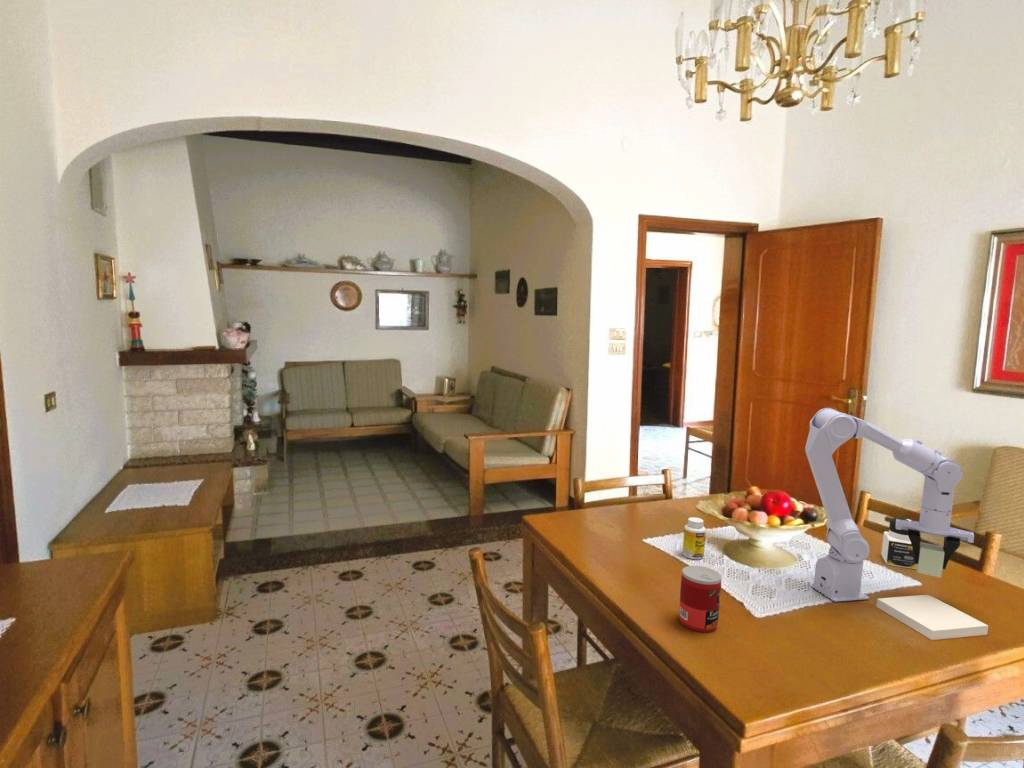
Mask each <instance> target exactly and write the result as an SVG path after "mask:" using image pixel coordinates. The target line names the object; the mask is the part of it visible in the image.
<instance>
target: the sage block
mask: <svg viewBox="0 0 1024 768" xmlns="http://www.w3.org/2000/svg"><path fill="white" fill-rule="evenodd" d="M943 547H944V546H943V545H938V544H933V543H927V542H923V541H922V542H921V541H920V547H919V561H918V564H916V569H915V570H916V572H917V573H918V574H921V575H927V576H932V577H935V578H940V579H941V578H942V576H943V570H944V569H943V561H944V553H945V552H944V549H943Z"/></svg>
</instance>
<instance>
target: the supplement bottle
mask: <svg viewBox="0 0 1024 768" xmlns="http://www.w3.org/2000/svg"><path fill="white" fill-rule="evenodd" d="M687 520H688V521H687V524H685V525H684V529H683V532H684V533H683V543H682V554H683V556H684V557H685V558H688V559H691V560H702V559H703V558H704V555H705V545H706V533H707V529H706V527H705V526H704V520H703V518H700V517H688V519H687Z"/></svg>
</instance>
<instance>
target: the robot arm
mask: <svg viewBox="0 0 1024 768" xmlns="http://www.w3.org/2000/svg"><path fill="white" fill-rule="evenodd" d="M852 438H853V439H855V440H856V439H862V438H865V439H867V440H868V441H871V442H872V443H874V444H877V445H879V446H881V447H883V448H885V449H887V450H889V451H891V452H892V455H893V458H894V460H896V461H898V463H901V464H902V465H905V466H907V467H908V468H911V469H912V470H914V471H916V472H918V473H920V474H922V475H923V476H924V479H923V480H924V481H923V487H922V488H923V489H922V497H921V506H920V511H919V512H920V513H919V521H917V520H916V521H915V520H911V521H907V520H899V519H896V529H898V530H901V529H903V530H907V533H908V536H909V539H910V541H911V544H912V548H913V553H914V563H915V564H918V561H919V547H920V542H921V541H922V537H921V534H926V535H932V536H937V537H941V538H942V537H943V546H942V547H943V549H944V552H945V553H944V561H943V569H942V570H946V569H947V566H948V563H949V561H950V559H951V558H952V556H953V554H954V553H955V552H956V551H957V550H958V549H959V548H960V545H961V541H965V542H967V543H972V544H974V539H975V534H974V532H973V531H968V530H962V529H960V528H959V529H958V528H955V527H951V521H952V512H953V506H954V505H953V504H954V497H955V490H956V486H957V484H959V482H960V481H961V480H962V478H963V476H964V473H963V472H962V469H961V466H960V465H959V463H958V462H957V461H955V460H952V459H950V458H949V457H946V456H943V455H942V453H943V452H941V451H939V450H937V449H935V450H933V449H931V448H929V447H927V446H925V445H923V441H921V440H920V439H918V438H914V439H912V438H904V439H899V438H898V437H895V436H894V435H892V434H890V433H889V432H886V431H885V430H883V429H881V428H880V427H878V426H876V425H874V424H873V423H871V422H869V421H867V420H864V419H862V418H860V417H859V418H858V417H857V416H853V415H850V414H847V413H844V412H840V411H838V410H836V409H834V408H832V407H824V408H822V409H819V410H818V411H817V412H816V413H815V414H814V416H813V417H812V418H811V419H810V421H809V431H808V436H807V439H806V444H805V447H804V450H805V451H804V452H805V455H806V457H807V460H808V463H809V467H810V469H811V473H812V475H813V478H814V482H815V486H816V487H817V491H818V494H819V496H820V500H821V503H822V506H823V509H824V512H825V516H826V517H827V519H826V521H825V525H826V530H827V531H826V535H825V537H826V541H827V542H828V544H829V545H830V547H829V549H828V553H827V555H826V556H824V557H821V558H820V557H819V558H818V559H816V560H817V561H816V563H815V568H814V578H813V579H814V581H813V584H811V585H810V587H811V586H812V587H811V588H813V589H814V588H815V591H817V590H818V592H819V593H820V592H821V593H820V594H822V595H823V594H824V595H823V596H825V597H827V598H828V599H829V600H831V601H833V602H835V603H836V602H847V601H863V600H869V598H870V597H869V596H868V595H866V594H865V593H863V592H861V587H862V579H863V578H862V576H863V570H864V569H863V568H864V561H865V560H866V559H867V558H868V557H869V555H870V550H871V547H870V545H869V543H868V542H867V540H866V539H865V538H864V537H863V536H862V534H861V532H860V529H859V527H858V525H857V524H856V523H855V521H854V519H853V516H852V513H851V510H850V507H849V505H848V501H847V499H846V495H845V493H844V489H843V486H842V483H841V480H840V478H839V477H840V476H839V474H838V471H837V468H836V465H835V462H834V459H833V454H834V453H835V452H836V450H837V449H838V448H839V447H840V446H842V445H844V444H845V443H846V442H848V441H849V440H850V439H852Z"/></svg>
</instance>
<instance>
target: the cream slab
mask: <svg viewBox="0 0 1024 768" xmlns="http://www.w3.org/2000/svg"><path fill="white" fill-rule="evenodd" d="M875 606H876V608H878V609H879V610H881V611H882V612H884V613H886V614H887V615H889V616H890V617H893V618H894V619H896V620H898V621H900V622H901V623H903V624H904V625H905V626H908V627H909V628H911V629H913V630H914V631H915V632H918V633H919V634H921V635H923V636H924V637H926V638H927V639H929V640H931V641H936V640H937V641H938V640H946V639H947V640H949V639H957V638H958V639H959V638H965V637H967V638H968V637H977V636H988V633H989V632H988V631H989V625H988V624H986V623H984V622H982V621H980V620H978V619H976V618H975V617H972V616H971V615H968V614H967V613H965V612H963V611H960V610H959V609H957V608H955V607H953V606H951V605H949V604H947V603H945V602H943V601H942V600H940V599H938V598H936V597H934V596H932V595H930V594H920V595H919V594H918V595H917V594H916V595H907V596H906V595H905V596H893V597H881V598H880V597H879V598H877V599H876V605H875Z"/></svg>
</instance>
